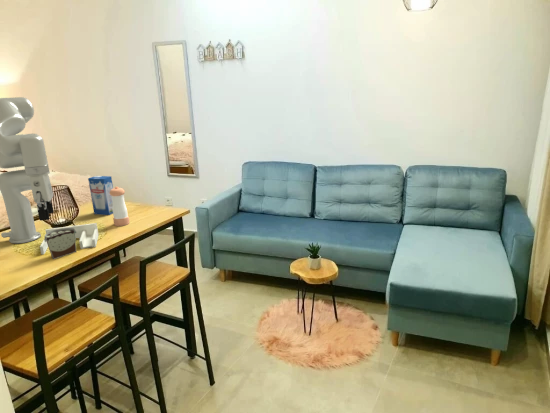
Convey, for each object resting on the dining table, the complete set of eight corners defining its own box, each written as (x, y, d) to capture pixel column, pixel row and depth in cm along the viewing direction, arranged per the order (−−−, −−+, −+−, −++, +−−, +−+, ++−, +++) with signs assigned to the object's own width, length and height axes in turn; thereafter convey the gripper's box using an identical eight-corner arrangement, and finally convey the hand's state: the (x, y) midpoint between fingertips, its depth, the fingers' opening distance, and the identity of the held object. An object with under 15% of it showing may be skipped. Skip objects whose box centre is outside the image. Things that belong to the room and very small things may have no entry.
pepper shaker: (124, 226, 200) (118, 188, 195) (111, 226, 202) (105, 188, 196) (132, 221, 207) (127, 185, 201) (119, 221, 208) (113, 184, 203)
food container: (73, 247, 176) (68, 225, 173) (79, 250, 172) (75, 228, 169) (43, 257, 167) (38, 234, 164) (49, 260, 163) (44, 237, 160)
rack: (41, 254, 169) (38, 241, 167) (48, 241, 183) (45, 229, 181) (95, 246, 175) (93, 233, 174) (98, 235, 189) (96, 222, 188)
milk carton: (94, 214, 222) (87, 178, 216) (101, 210, 228) (96, 175, 222) (109, 215, 219) (103, 178, 213) (116, 211, 225) (111, 176, 219)
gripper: (44, 173, 141) (54, 222, 146) (53, 165, 157) (61, 209, 162) (19, 176, 138) (30, 225, 144) (31, 167, 154) (40, 211, 159)
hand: (46, 216), depth 153 cm, fingers open, 7 cm apart
